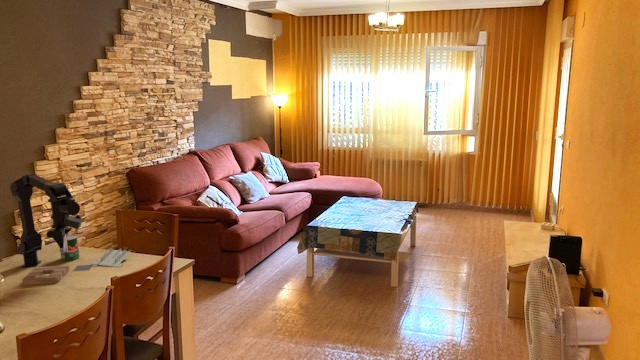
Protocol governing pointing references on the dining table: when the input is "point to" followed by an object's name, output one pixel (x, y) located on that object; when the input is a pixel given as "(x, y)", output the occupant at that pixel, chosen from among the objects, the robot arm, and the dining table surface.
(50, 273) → the walnut hole plate
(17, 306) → the dining table surface
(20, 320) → the dining table surface
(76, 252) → the canned tomato
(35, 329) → the dining table surface
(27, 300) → the dining table surface
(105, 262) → the metal bracket
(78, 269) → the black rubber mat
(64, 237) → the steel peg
